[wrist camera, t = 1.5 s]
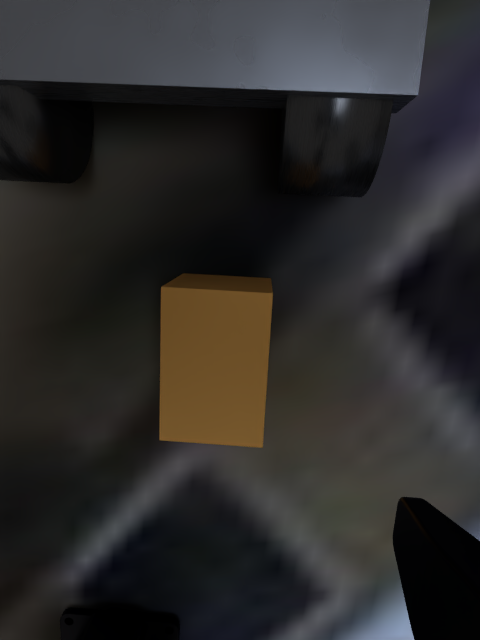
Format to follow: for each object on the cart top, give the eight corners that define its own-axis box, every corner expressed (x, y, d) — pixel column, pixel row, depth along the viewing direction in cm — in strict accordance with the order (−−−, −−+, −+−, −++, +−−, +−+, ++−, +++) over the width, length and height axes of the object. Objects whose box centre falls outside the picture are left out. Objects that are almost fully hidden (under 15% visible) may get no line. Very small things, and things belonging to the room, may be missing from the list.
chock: (262, 401, 21) (262, 447, 17) (181, 395, 21) (159, 440, 17) (271, 277, 20) (273, 293, 15) (183, 272, 20) (161, 286, 16)
